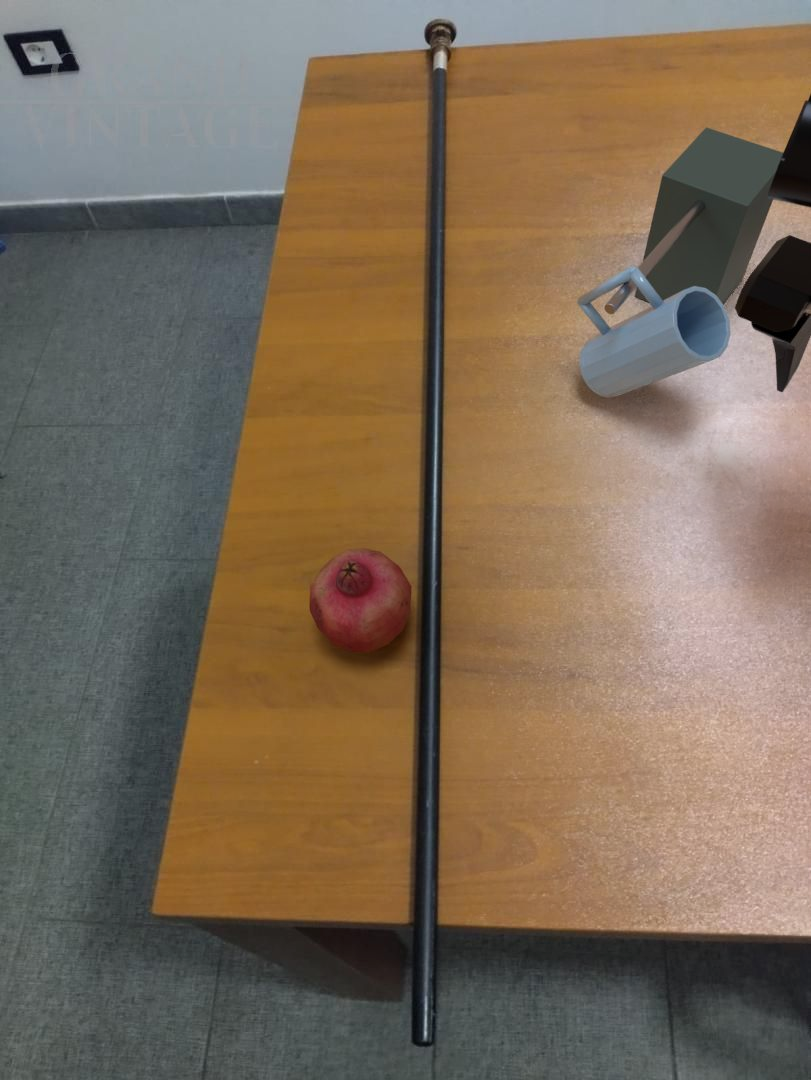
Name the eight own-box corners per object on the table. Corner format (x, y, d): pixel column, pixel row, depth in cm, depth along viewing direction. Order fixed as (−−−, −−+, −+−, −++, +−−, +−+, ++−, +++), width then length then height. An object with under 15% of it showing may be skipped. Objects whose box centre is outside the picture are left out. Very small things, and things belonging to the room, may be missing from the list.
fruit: (435, 632, 62) (427, 579, 53) (352, 685, 60) (330, 640, 52) (383, 561, 66) (368, 501, 57) (304, 610, 64) (276, 556, 55)
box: (555, 389, 73) (569, 276, 61) (672, 251, 81) (706, 126, 68) (627, 426, 70) (657, 315, 58) (742, 280, 78) (790, 154, 65)
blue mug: (640, 369, 72) (741, 329, 61) (607, 410, 70) (705, 375, 59) (576, 289, 70) (670, 232, 59) (541, 329, 68) (630, 277, 57)
